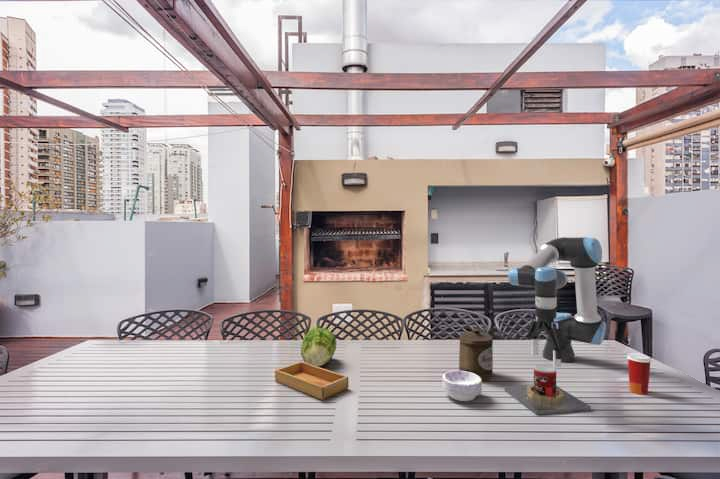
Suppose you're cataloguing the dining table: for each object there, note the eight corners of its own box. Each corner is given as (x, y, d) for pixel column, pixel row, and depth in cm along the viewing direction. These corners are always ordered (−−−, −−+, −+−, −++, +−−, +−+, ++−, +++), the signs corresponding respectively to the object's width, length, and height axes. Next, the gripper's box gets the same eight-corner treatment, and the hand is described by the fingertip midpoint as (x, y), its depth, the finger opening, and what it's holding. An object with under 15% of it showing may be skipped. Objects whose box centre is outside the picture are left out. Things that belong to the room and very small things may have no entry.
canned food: (529, 392, 154) (530, 365, 153) (548, 391, 154) (548, 364, 154) (540, 400, 146) (540, 372, 146) (560, 399, 147) (560, 371, 147)
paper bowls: (460, 408, 143) (460, 387, 143) (434, 393, 156) (434, 373, 156) (490, 400, 150) (490, 380, 150) (463, 386, 164) (463, 367, 163)
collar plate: (504, 390, 159) (504, 381, 159) (552, 386, 163) (552, 378, 163) (536, 415, 138) (536, 405, 137) (590, 410, 141) (591, 401, 141)
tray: (275, 381, 170) (275, 369, 170) (301, 372, 181) (301, 360, 181) (322, 402, 149) (322, 387, 149) (348, 390, 161) (348, 376, 160)
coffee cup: (646, 389, 160) (647, 353, 160) (654, 397, 152) (654, 359, 152) (623, 386, 163) (623, 351, 163) (629, 394, 155) (630, 357, 155)
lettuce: (291, 356, 178) (324, 334, 177) (294, 334, 200) (323, 314, 200) (313, 384, 182) (346, 362, 181) (314, 359, 204) (342, 340, 204)
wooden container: (488, 383, 166) (488, 333, 166) (454, 376, 174) (455, 328, 174) (495, 373, 179) (496, 326, 178) (464, 367, 187) (464, 322, 186)
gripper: (518, 301, 161) (518, 351, 162) (558, 314, 137) (558, 373, 137) (535, 300, 162) (535, 350, 163) (577, 313, 138) (576, 371, 138)
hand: (545, 360), depth 150 cm, fingers open, 13 cm apart
